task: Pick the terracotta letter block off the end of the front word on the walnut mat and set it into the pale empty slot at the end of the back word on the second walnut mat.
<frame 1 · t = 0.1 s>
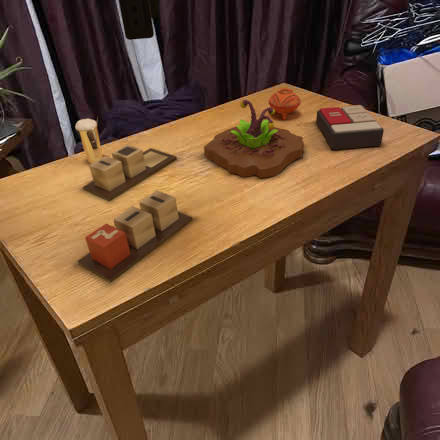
hand: (143, 27, 52), 32 cm above the table, tool pointing down, fingers open, 9 cm apart
back word: (131, 173, 91), on the table
plant: (253, 154, 95), on the table
letter block: (111, 256, 70), point 1 cm above the table, touching front word
pot: (283, 115, 108), on the table
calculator: (346, 134, 99), on the table
front word: (138, 240, 74), on the table
beer glass: (98, 161, 96), on the table
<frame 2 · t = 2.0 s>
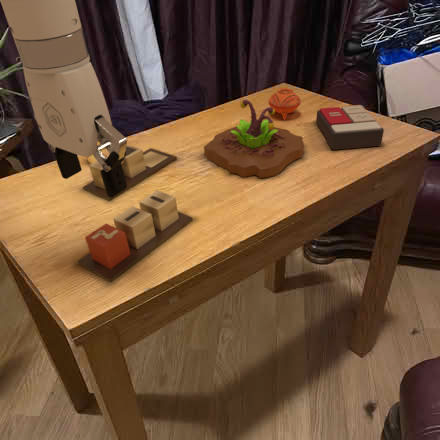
hand: (94, 183, 61), 14 cm above the table, tool pointing down, fingers open, 9 cm apart
nothing on the table moved.
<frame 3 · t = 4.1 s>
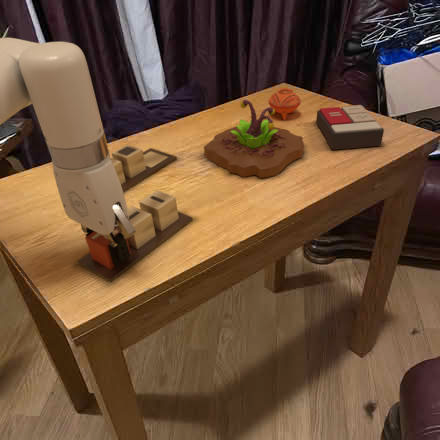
hand: (110, 254, 70), 1 cm above the table, tool pointing down, fingers closed on letter block, 4 cm apart
letter block: (111, 256, 70), point 1 cm above the table, touching front word, gripper
everything else where it was.
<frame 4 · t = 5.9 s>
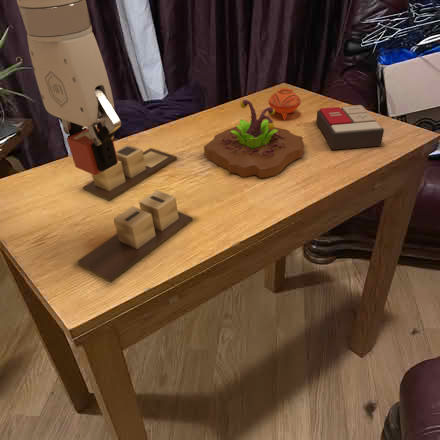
hand: (96, 161, 63), 15 cm above the table, tool pointing down, fingers closed on letter block, 4 cm apart
letter block: (97, 165, 63), point 15 cm above the table, touching gripper
everything else where it was.
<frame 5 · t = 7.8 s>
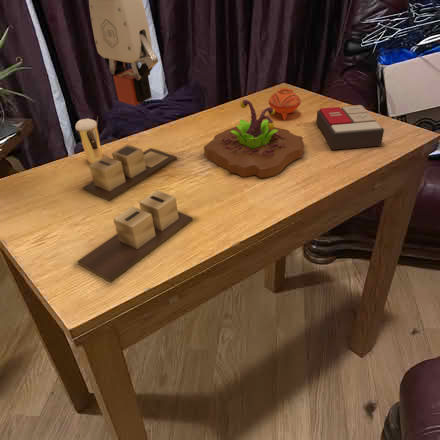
hand: (134, 96, 81), 15 cm above the table, tool pointing down, fingers closed on letter block, 4 cm apart
letter block: (135, 99, 81), point 15 cm above the table, touching gripper
everything else where it was.
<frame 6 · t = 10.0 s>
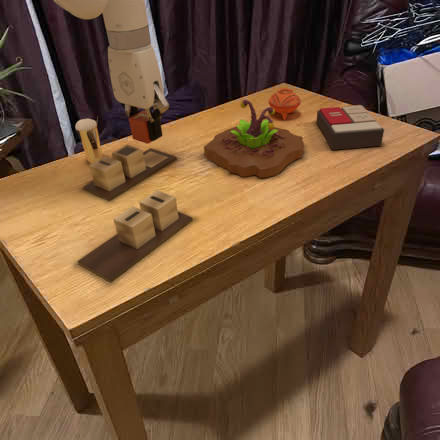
hand: (147, 134, 90), 6 cm above the table, tool pointing down, fingers closed on letter block, 4 cm apart
letter block: (147, 137, 90), point 6 cm above the table, touching gripper
everything else where it was.
when the fingers open (1 cm above the table, at t = 11.6 s): letter block stays where it is, resting on back word.
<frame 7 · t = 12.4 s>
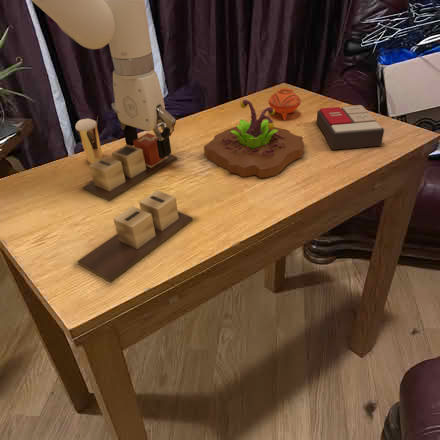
hand: (148, 150, 92), 3 cm above the table, tool pointing down, fingers open, 9 cm apart
letter block: (151, 158, 94), point 1 cm above the table, touching back word
everything else where it was.
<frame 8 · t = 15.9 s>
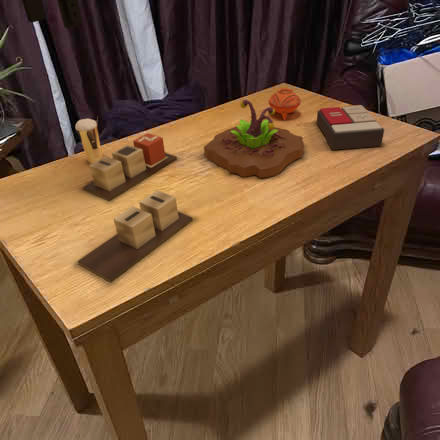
hand: (55, 23, 71), 28 cm above the table, tool pointing down, fingers open, 9 cm apart
nothing on the table moved.
at the end: letter block 0.1 cm from the target spot on the back word, point 0.7 cm above the back word's base; letter block tilted 0°; the gripper is holding nothing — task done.
